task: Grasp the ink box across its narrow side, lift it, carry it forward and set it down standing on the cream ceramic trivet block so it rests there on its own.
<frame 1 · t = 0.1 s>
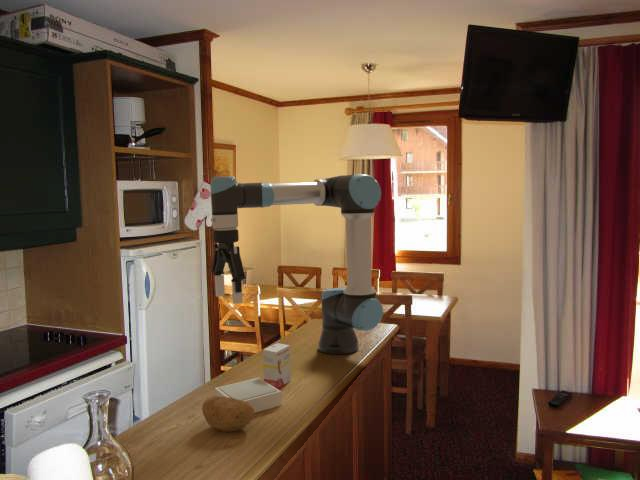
hand: (228, 299, 158), 28 cm above the breakfast bar, fingers open, 13 cm apart
trivet block: (248, 403, 150), on the breakfast bar
potato: (229, 430, 134), on the breakfast bar
ink box: (277, 384, 164), on the breakfast bar
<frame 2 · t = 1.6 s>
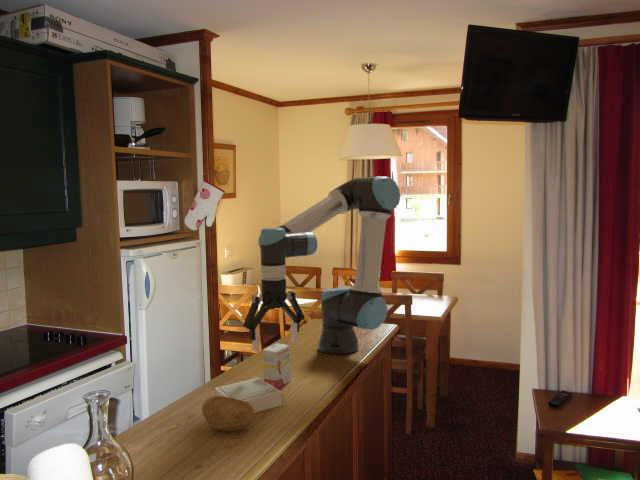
hand: (275, 346, 163), 12 cm above the breakfast bar, fingers open, 13 cm apart
nothing on the breakfast bar moved.
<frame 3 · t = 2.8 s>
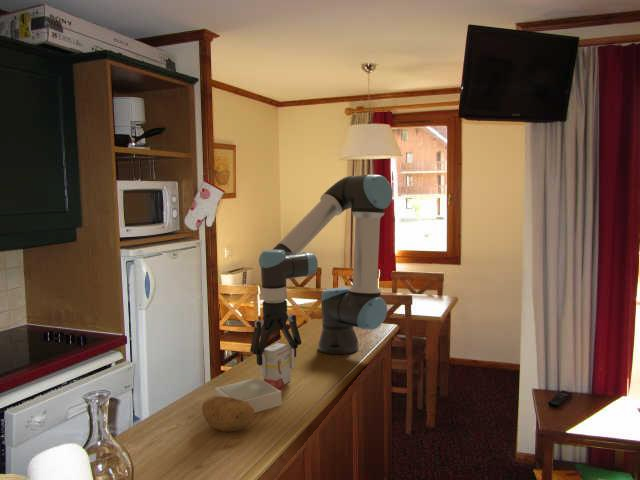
hand: (277, 371, 164), 4 cm above the breakfast bar, fingers closed on ink box, 9 cm apart
ink box: (277, 384, 164), on the breakfast bar, touching gripper
everything else where it was.
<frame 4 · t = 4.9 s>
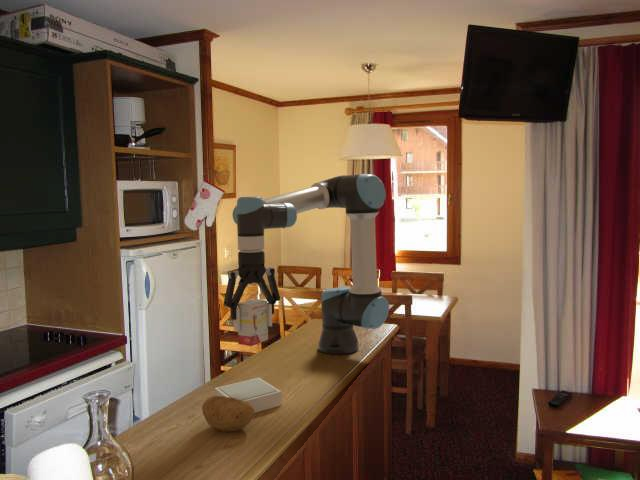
hand: (253, 328, 152), 21 cm above the breakfast bar, fingers closed on ink box, 9 cm apart
ink box: (253, 342, 153), point 16 cm above the breakfast bar, touching gripper
everything else where it was.
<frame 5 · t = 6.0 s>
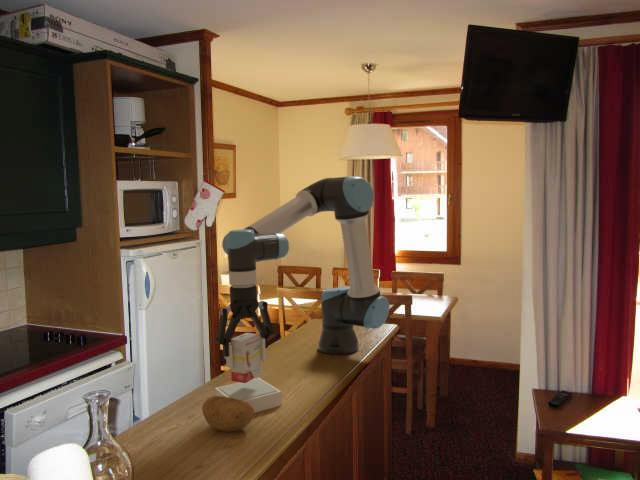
hand: (246, 363, 149), 12 cm above the breakfast bar, fingers closed on ink box, 9 cm apart
ink box: (247, 378, 149), point 7 cm above the breakfast bar, touching gripper
everything else where it was.
when the fingers open (9 cm above the breakfast bar, at t = 7.0 s): ink box stays where it is, resting on trivet block.
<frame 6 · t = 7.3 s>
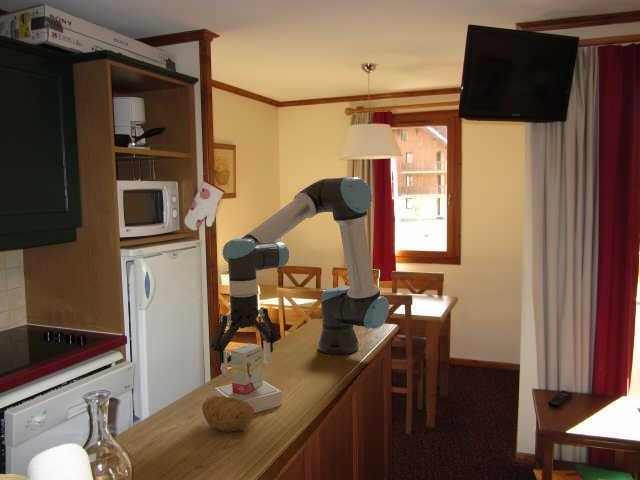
hand: (246, 368, 149), 10 cm above the breakfast bar, fingers open, 13 cm apart
ink box: (248, 389, 150), point 4 cm above the breakfast bar, touching trivet block
everything else where it was.
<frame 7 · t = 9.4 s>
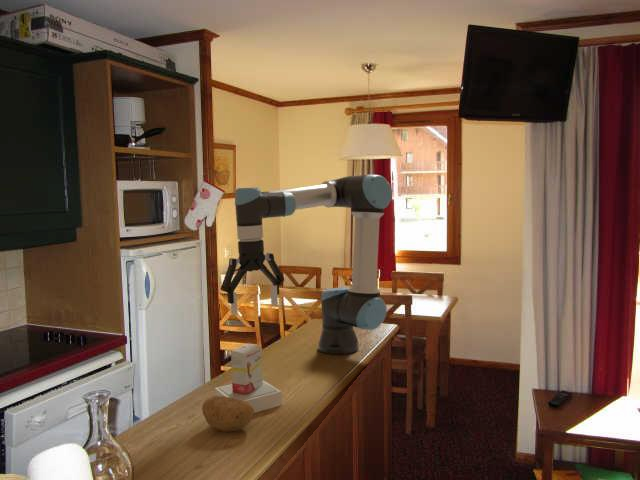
hand: (255, 309, 159), 24 cm above the breakfast bar, fingers open, 13 cm apart
nothing on the breakfast bar moved.
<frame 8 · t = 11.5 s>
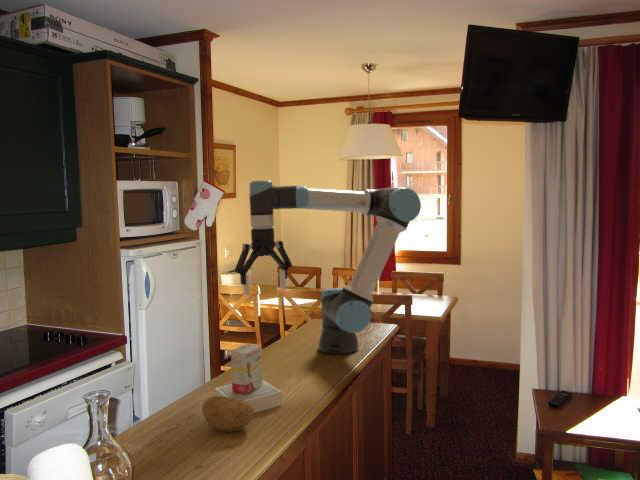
hand: (265, 291, 176), 27 cm above the breakfast bar, fingers open, 13 cm apart
nothing on the breakfast bar moved.
at the end: ink box inside the target area on the trivet block (0.2 cm from its centre), point 4.0 cm above the trivet block's base; ink box tilted 0°; the gripper is holding nothing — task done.
